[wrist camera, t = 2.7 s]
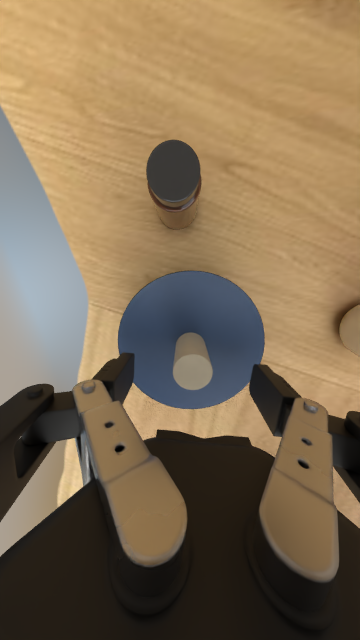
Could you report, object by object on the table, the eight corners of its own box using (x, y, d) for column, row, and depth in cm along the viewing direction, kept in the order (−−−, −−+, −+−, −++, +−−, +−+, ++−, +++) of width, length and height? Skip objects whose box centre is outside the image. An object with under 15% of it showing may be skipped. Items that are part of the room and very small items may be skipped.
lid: (122, 264, 16) (90, 259, 11) (272, 277, 16) (318, 279, 11) (120, 395, 19) (95, 445, 14) (247, 407, 19) (272, 461, 14)
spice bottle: (159, 185, 20) (144, 133, 13) (198, 188, 20) (206, 138, 13) (157, 228, 21) (142, 202, 14) (194, 231, 21) (200, 207, 14)
